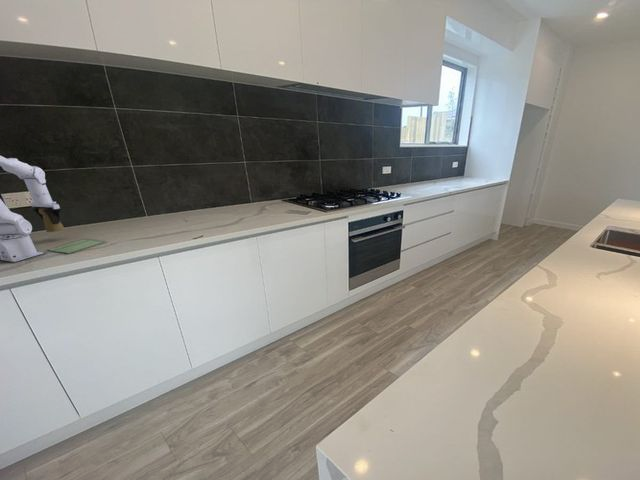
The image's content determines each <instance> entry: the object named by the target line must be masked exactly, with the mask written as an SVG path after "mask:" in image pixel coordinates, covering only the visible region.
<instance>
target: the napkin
mask: <svg viewBox="0 0 640 480" xmlns="http://www.w3.org/2000/svg"><path fill="white" fill-rule="evenodd" d="M100 244H104V241H99V240H93V239H92V240H91V239H87V238H84V239H83V238H82V239H80V240H76V241H74V242H70V243H67V244H62V245H60V246H56V247H53V248H49V249H47V251H49V252H55V253H62V254H68V255H69V254H72V253H76V252H78V251H82V250H84V249H87V248H90V247H94V246H97V245H100Z"/></svg>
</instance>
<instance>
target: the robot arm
mask: <svg viewBox="0 0 640 480" xmlns="http://www.w3.org/2000/svg"><path fill="white" fill-rule="evenodd" d="M0 167H1V168H2V170H4V171H5V172H6V173H7V172H8V173H9V174H10V173H11V174H14V175H16V176H17V177H18V178H19V179H20V180H23V181H24V183H25V185H26V186H25V187H26V188H27V190H28V192H29V195H30V197H31V199H32V202H29V205H30V207H32V208H31V211H32V212H34V213H35V214H36V215H38V217H39V218H40V220H41V221H43V222H44V220H43V216H42V215H41V214H40V213H39V208H42V207H47V208H48V209H45V210H43V211H44V212H45V213H46V214H47V215H48V216H49V218H50V220H51V221H52V223H53V224H57V223H60V222H61V219H60V216H61V215H60V214H61V210H62V208H61V207H60V205H59V203H57V201H53V199H52V196H51V194H50V192H49V189H48V187H47V184H46V183H47V180H46V173H45V171H44V170H43V169H42V168H41V167H39V166H36V165H29V164H28V163H26V162H22V161H20V160H19V159H18V158H15V157H9V158H6V157H4V156H2V155H0ZM32 231H33V226H32V224H31V222H30V221H29V220H27V219H25V218H24V216H23V215H21V214H19V213H16V212H13V211H11V210H10V208H9V207H8V206H7V205H6V204H5V203H4V201H3V200H2V199H1V198H0V261H6V262H11V263H17V262H19V261H23V260H26V259H30V258H34V257H37V256H41V255H43V254H44V252H42V251H37V249H36V246H35V244H34V242H33V240H32V237H31V236H30V235H31V233H32Z"/></svg>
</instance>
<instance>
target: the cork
mask: <svg viewBox="0 0 640 480" xmlns="http://www.w3.org/2000/svg"><path fill="white" fill-rule="evenodd" d="M45 209H48V208H47V207H42V208H39V213H40V214H41V215H42V216H43V220H44V221H43V220H42V221H43V224H44V229H45V231H46V232H47V233H54V232H59V231H60V232H61V231H63V230H65V227H64V225H63V224H62V222H61V221H60V223H57V224H53V223H52V221H51V220H50V218H49V216H48V215H47V214H46V213H45V212H44V211H43V210H45Z"/></svg>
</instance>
